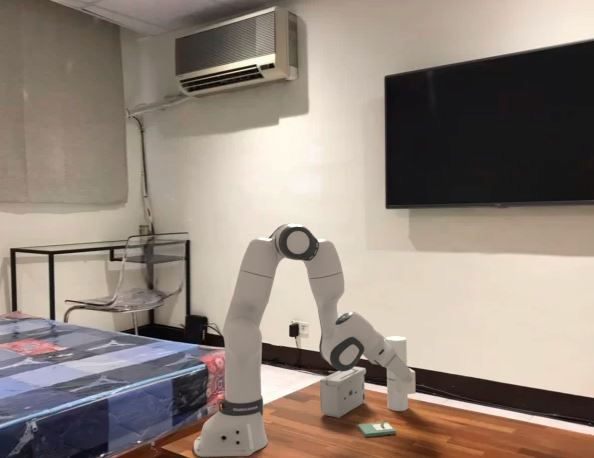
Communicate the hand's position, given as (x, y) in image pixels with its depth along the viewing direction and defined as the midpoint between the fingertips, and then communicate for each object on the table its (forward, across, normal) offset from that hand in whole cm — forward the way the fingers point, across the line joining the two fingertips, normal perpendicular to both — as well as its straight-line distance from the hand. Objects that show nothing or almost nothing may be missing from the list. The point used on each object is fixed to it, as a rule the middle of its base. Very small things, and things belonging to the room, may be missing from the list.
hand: (407, 378), depth 178 cm
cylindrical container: (+14, -19, -9) cm, 25 cm away
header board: (+4, 0, -19) cm, 19 cm away
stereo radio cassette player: (+1, -22, -22) cm, 32 cm away
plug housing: (+3, 0, -4) cm, 4 cm away
